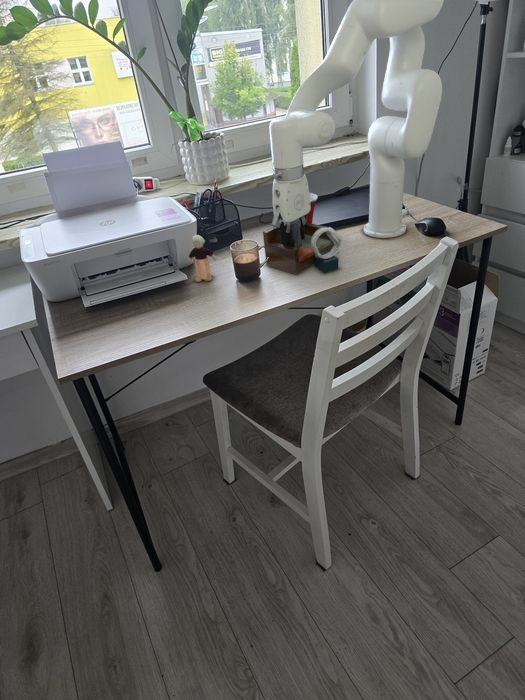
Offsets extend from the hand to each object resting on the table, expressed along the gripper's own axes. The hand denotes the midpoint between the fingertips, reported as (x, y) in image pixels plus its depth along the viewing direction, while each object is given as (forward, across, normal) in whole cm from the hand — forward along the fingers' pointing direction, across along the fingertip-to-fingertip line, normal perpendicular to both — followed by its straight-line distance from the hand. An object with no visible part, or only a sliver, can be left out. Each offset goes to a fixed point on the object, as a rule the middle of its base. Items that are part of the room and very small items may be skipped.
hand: (293, 241), depth 125 cm
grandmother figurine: (+7, -20, +15) cm, 26 cm away
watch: (+7, +3, -9) cm, 12 cm away
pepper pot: (+1, 0, 0) cm, 1 cm away
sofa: (+7, +3, +1) cm, 8 cm away
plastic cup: (+7, +18, +12) cm, 23 cm away
